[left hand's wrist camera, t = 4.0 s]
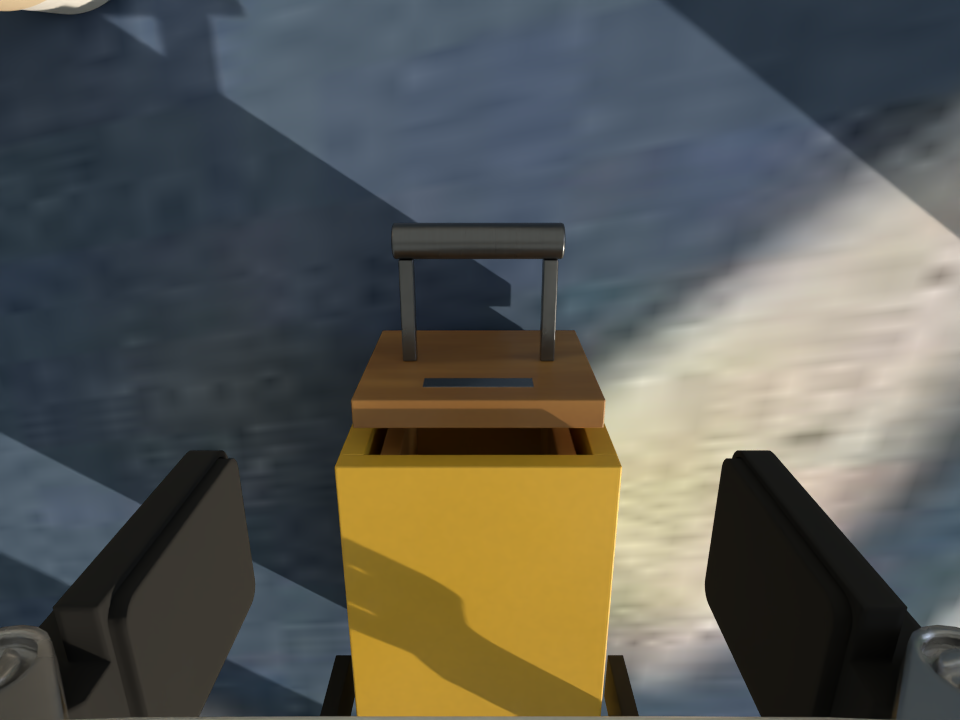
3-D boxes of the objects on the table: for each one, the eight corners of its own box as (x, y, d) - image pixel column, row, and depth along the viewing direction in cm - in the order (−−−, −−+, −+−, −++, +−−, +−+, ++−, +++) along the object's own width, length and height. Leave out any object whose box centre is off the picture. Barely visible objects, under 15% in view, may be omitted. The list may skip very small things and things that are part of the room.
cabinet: (376, 366, 34) (333, 466, 24) (581, 366, 34) (622, 466, 24) (392, 633, 41) (364, 799, 31) (566, 633, 41) (593, 799, 31)
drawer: (375, 209, 31) (338, 242, 22) (581, 209, 31) (617, 242, 22) (397, 598, 38) (375, 725, 30) (560, 598, 38) (581, 725, 30)
